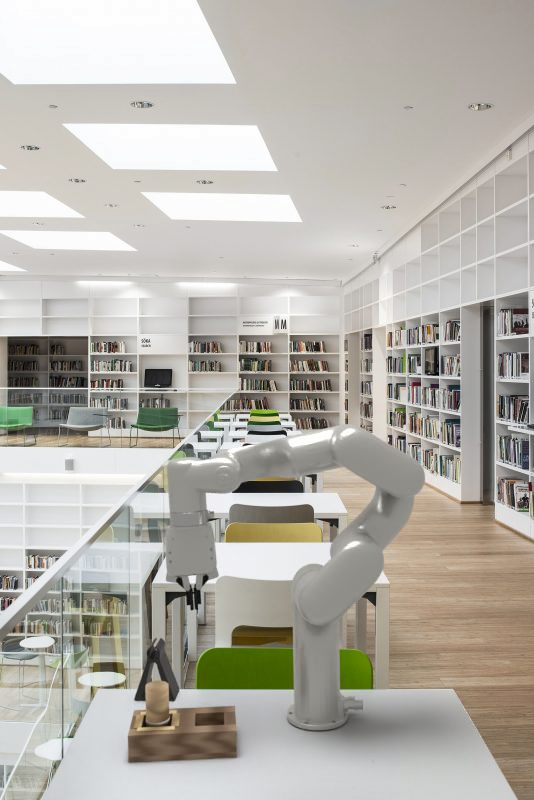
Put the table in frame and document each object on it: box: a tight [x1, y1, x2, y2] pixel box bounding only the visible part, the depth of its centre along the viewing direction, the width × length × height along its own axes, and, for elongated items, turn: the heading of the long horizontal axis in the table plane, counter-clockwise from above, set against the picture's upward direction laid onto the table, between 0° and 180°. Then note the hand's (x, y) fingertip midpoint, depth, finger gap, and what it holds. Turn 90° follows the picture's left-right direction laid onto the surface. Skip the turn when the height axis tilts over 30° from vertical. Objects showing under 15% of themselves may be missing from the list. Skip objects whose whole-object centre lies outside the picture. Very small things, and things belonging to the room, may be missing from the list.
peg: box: [145, 680, 170, 727], centre depth 150 cm, size 4×4×11 cm
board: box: [127, 705, 238, 763], centre depth 151 cm, size 20×11×5 cm, turn 94°
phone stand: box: [133, 637, 180, 702], centre depth 175 cm, size 9×6×12 cm, turn 86°
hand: (194, 608), depth 160 cm, fingers closed
